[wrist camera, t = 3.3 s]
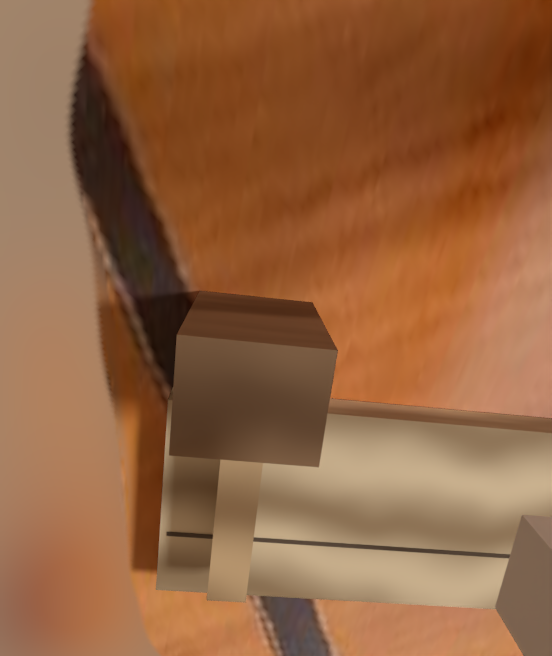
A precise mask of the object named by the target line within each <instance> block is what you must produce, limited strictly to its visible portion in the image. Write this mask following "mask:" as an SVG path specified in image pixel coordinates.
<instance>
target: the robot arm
mask: <svg viewBox="0 0 552 656" xmlns="http://www.w3.org/2000/svg"><path fill="white" fill-rule="evenodd" d="M495 608H496V610H497V612H498V613H499V615H500V617H501V618H502V620H503V622H504V623H505V625H506V627H507V628H508V630H509V632H510V633H511V635H512V637H513V638H514V640H515V642H516V643H517V645H518V647H519V649H520V650H521V652H522V654H523V655H524V656H552V517H547V516H533V515H522V516H521V520H520V523H519V527H518V530H517V533H516V537H515V540H514V544H513V547H512V551H511V554H510V557H509V561H508V564H507V568H506V571H505V574H504V578H503V581H502V585H501V588H500V592H499V595H498V598H497V602H496V605H495Z"/></svg>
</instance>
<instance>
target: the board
mask: <svg viewBox="0 0 552 656" xmlns="http://www.w3.org/2000/svg"><path fill="white" fill-rule="evenodd" d="M172 400H173V388H172V391H171V393H170V396H169V398H168V408H167V424H166V440H165V455H164V471H163V487H162V503H161V519H160V535H159V550H158V566H157V582H156V590H169V591H186V592H204V593H207V592H208V582H209V572H210V561H211V551H212V541H213V531H214V521H215V511H216V500H217V490H218V480H219V470H220V460H219V459H207V458H194V457H181V456H169V446H170V430H171V415H172ZM522 515H533V516H547V517H552V419H551V418H540V417H529V416H518V415H507V414H496V413H485V412H473V411H462V410H451V409H440V408H429V407H418V406H407V405H396V404H385V403H374V402H363V401H352V400H341V399H330V402H329V408H328V414H327V420H326V426H325V433H324V439H323V445H322V451H321V458H320V464H319V467H308V466H295V465H282V464H270V463H263V468H262V475H261V483H260V491H259V499H258V507H257V515H256V523H255V531H254V539H253V547H252V555H251V563H250V571H249V579H248V587H247V595H256V596H273V597H291V598H308V599H326V600H343V601H361V602H378V603H395V604H413V605H430V606H448V607H465V608H483V609H496V608H495V605H496V602H497V598H498V595H499V592H500V588H501V585H502V581H503V578H504V574H505V571H506V568H507V564H508V561H509V557H510V554H511V551H512V547H513V544H514V540H515V537H516V533H517V530H518V527H519V523H520V520H521V516H522Z"/></svg>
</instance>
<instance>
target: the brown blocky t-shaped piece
mask: <svg viewBox="0 0 552 656" xmlns="http://www.w3.org/2000/svg"><path fill="white" fill-rule="evenodd" d="M337 352H338V350H337V348H336V346H335V344H334V342H333V341H332V339H331V337H330V335H329V333H328V331H327V329H326V327H325V325H324V324H323V322H322V320H321V318H320V316H319V314H318V312H317V310H316V308H315V307H314V305H313V303H312V302H302V301H293V300H283V299H274V298H265V297H255V296H246V295H236V294H227V293H217V292H208V291H199V293H198V295H197V297H196V299H195V301H194V303H193V304H192V306H191V308H190V310H189V312H188V314H187V316H186V318H185V320H184V322H183V324H182V326H181V327H180V329H179V331H178V333H177V338H176V354H175V369H174V384H173V400H172V415H171V430H170V446H169V456H181V457H194V458H207V459H219V460H220V470H219V480H218V490H217V500H216V511H215V521H214V531H213V541H212V551H211V561H210V572H209V582H208V592H207V600H211V601H228V602H246V595H247V587H248V579H249V571H250V563H251V555H252V547H253V539H254V531H255V523H256V515H257V507H258V499H259V491H260V483H261V475H262V468H263V463H270V464H282V465H295V466H308V467H319V464H320V458H321V451H322V445H323V439H324V433H325V426H326V420H327V414H328V408H329V402H330V395H331V389H332V383H333V377H334V371H335V364H336V358H337Z"/></svg>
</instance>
